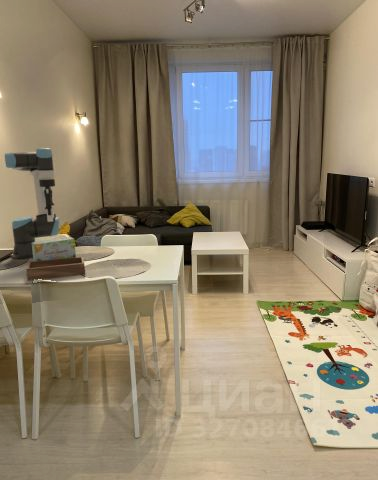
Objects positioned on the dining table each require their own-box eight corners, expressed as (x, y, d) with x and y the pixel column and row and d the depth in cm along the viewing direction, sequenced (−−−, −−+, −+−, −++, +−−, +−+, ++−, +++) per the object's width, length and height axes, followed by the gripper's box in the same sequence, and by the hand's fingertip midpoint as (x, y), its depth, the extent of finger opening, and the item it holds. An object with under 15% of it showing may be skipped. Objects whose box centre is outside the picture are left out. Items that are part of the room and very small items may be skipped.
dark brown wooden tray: (30, 272, 190) (28, 261, 189) (84, 266, 198) (83, 256, 197) (27, 280, 177) (26, 269, 176) (85, 274, 185) (84, 263, 184)
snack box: (37, 272, 191) (33, 243, 188) (34, 269, 196) (31, 242, 192) (76, 264, 203) (74, 238, 200) (73, 262, 208) (71, 236, 204)
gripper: (40, 178, 199) (44, 216, 204) (37, 180, 176) (41, 223, 181) (55, 177, 202) (59, 215, 206) (53, 179, 178) (57, 222, 183)
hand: (51, 219), depth 194 cm, fingers open, 13 cm apart
